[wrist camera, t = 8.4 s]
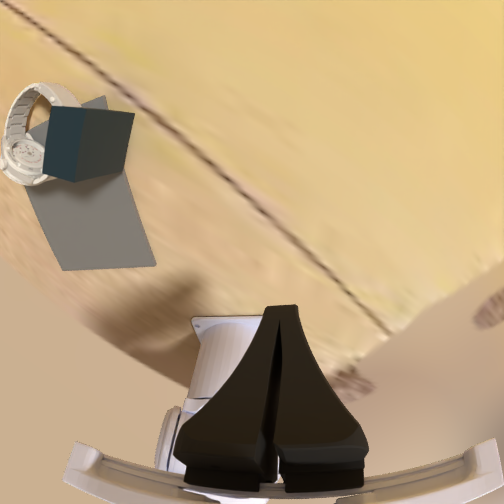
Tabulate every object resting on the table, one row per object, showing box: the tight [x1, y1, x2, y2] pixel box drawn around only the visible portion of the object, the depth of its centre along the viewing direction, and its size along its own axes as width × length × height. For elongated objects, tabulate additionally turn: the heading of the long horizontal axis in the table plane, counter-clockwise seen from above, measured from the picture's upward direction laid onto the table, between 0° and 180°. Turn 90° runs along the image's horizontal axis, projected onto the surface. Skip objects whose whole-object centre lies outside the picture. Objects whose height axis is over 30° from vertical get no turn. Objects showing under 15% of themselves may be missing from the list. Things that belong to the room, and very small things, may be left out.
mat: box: [25, 95, 157, 271], centre depth 22 cm, size 15×12×1 cm
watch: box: [0, 82, 135, 186], centre depth 16 cm, size 6×8×11 cm
